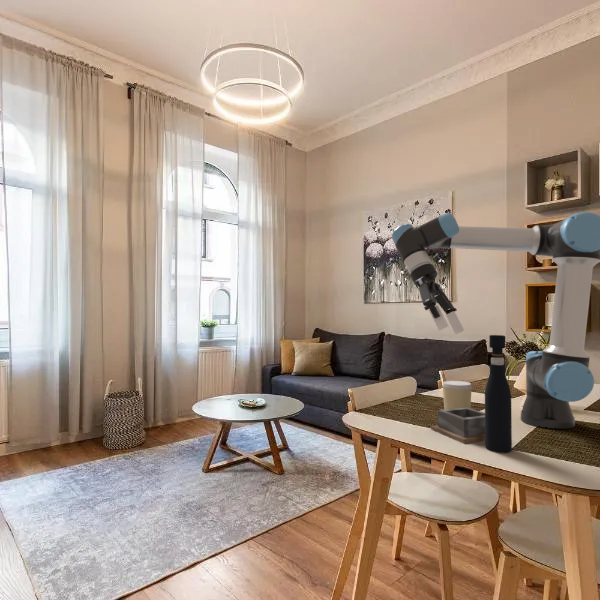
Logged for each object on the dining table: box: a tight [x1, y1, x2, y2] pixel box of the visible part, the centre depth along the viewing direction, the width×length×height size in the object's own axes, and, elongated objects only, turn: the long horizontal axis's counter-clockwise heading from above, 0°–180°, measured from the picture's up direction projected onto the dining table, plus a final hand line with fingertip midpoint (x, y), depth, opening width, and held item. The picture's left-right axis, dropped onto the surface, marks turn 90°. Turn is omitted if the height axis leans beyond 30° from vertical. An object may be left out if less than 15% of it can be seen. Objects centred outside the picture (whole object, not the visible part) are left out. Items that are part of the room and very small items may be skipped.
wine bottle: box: [484, 334, 513, 454], centre depth 111 cm, size 6×6×30 cm
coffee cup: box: [441, 380, 473, 410], centre depth 140 cm, size 9×9×12 cm
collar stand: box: [430, 407, 485, 444], centre depth 124 cm, size 14×14×6 cm
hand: (452, 330), depth 120 cm, fingers open, 13 cm apart
